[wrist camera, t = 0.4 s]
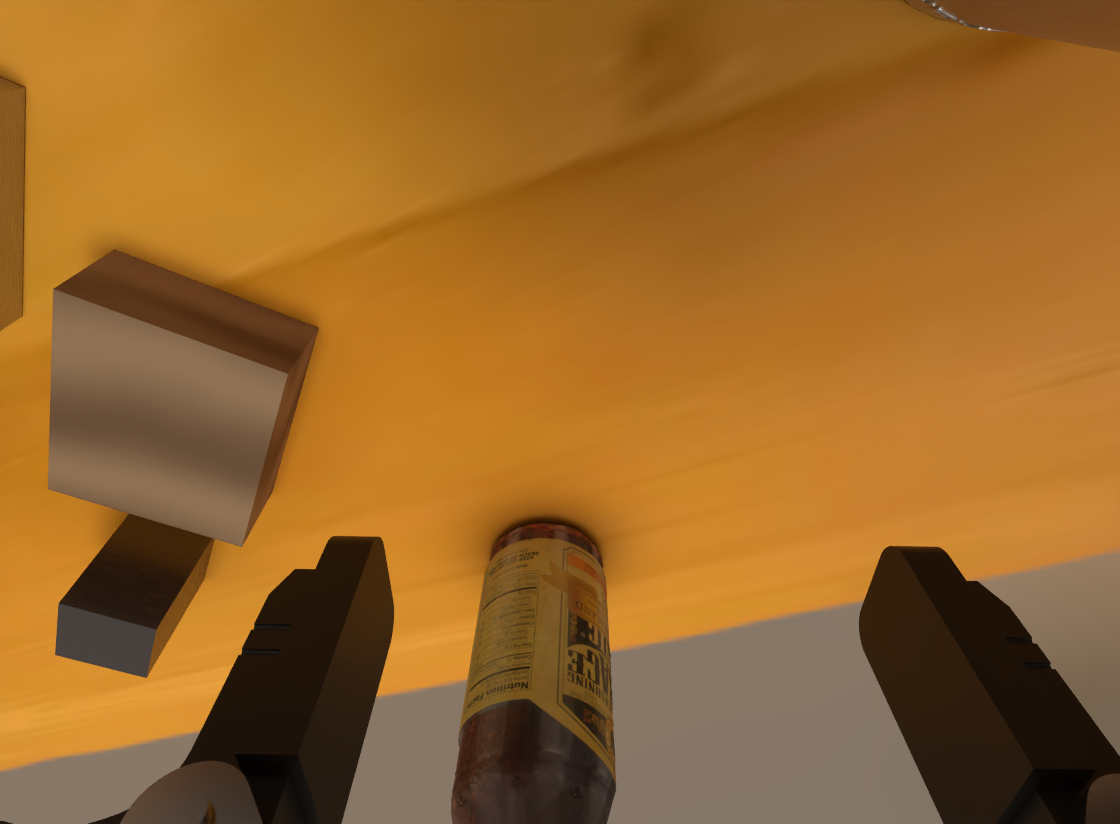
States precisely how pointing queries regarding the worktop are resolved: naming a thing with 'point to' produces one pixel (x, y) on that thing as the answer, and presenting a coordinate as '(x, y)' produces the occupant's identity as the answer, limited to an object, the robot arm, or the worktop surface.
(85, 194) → the worktop surface
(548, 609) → the sauce bottle
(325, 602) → the robot arm
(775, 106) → the worktop surface
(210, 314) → the brown rectangular block
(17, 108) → the holder
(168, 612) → the block
